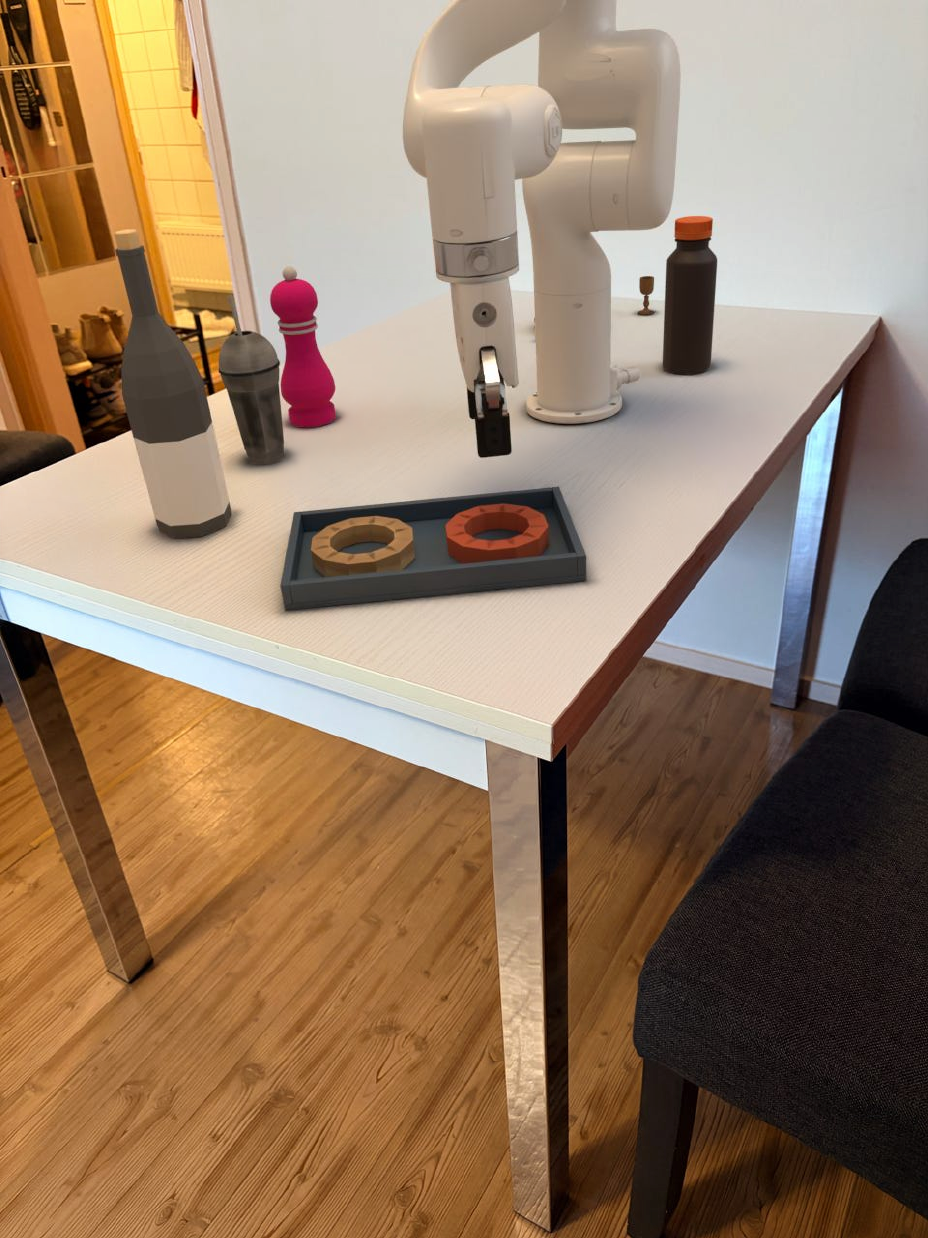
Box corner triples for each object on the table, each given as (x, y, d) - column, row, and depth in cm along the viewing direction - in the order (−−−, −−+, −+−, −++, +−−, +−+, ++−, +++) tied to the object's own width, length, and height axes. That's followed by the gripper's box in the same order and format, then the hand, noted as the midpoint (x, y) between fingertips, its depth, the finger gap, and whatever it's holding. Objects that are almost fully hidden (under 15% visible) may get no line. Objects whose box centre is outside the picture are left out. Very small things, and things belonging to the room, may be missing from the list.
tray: (559, 508, 101) (559, 486, 100) (586, 580, 88) (586, 555, 86) (297, 534, 100) (293, 511, 99) (285, 610, 87) (280, 585, 86)
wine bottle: (163, 546, 100) (83, 243, 84) (153, 517, 106) (76, 231, 91) (240, 528, 103) (176, 230, 87) (225, 500, 109) (162, 219, 93)
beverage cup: (306, 448, 121) (278, 285, 111) (278, 470, 115) (246, 301, 105) (255, 445, 123) (224, 285, 113) (226, 467, 118) (190, 300, 107)
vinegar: (695, 357, 141) (703, 212, 131) (719, 370, 136) (730, 219, 125) (653, 365, 140) (658, 218, 129) (676, 378, 134) (683, 225, 123)
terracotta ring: (539, 517, 98) (538, 499, 97) (555, 562, 90) (554, 543, 89) (444, 527, 98) (442, 509, 97) (451, 572, 89) (449, 553, 88)
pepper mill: (330, 429, 126) (305, 272, 116) (278, 429, 128) (250, 273, 117) (346, 410, 132) (325, 259, 122) (297, 410, 134) (272, 260, 123)
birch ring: (413, 529, 98) (411, 512, 97) (416, 575, 89) (414, 557, 88) (317, 539, 98) (314, 521, 96) (311, 586, 89) (308, 567, 88)
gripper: (531, 275, 78) (539, 467, 88) (506, 231, 93) (516, 400, 102) (440, 285, 78) (458, 476, 88) (429, 239, 93) (446, 407, 102)
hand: (489, 435), depth 95 cm, fingers open, 9 cm apart
